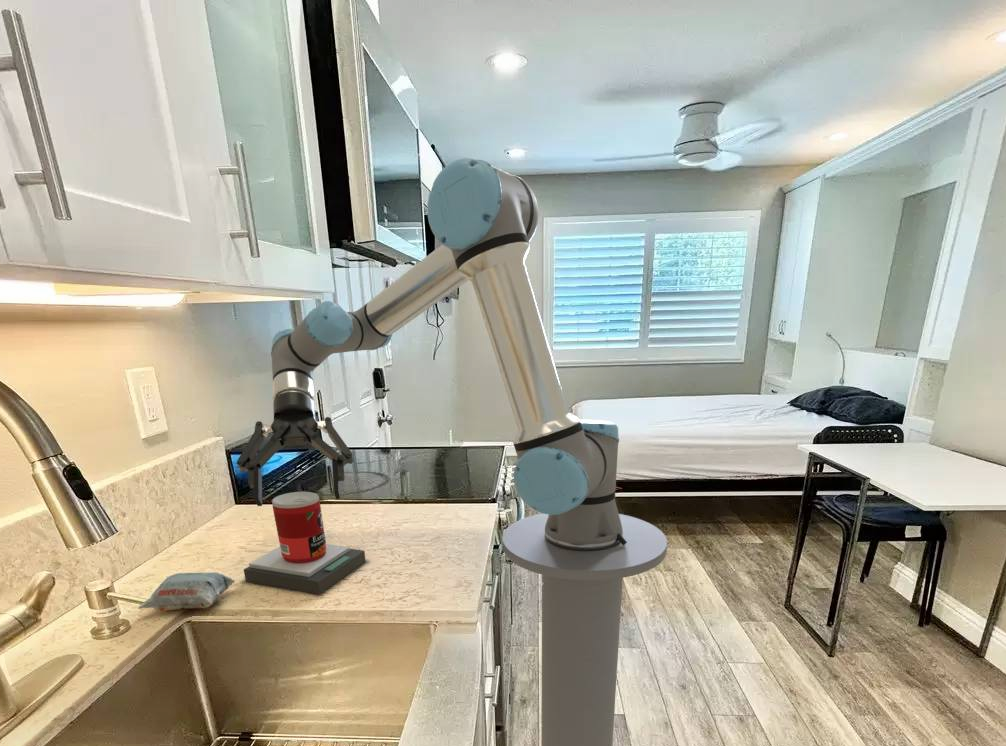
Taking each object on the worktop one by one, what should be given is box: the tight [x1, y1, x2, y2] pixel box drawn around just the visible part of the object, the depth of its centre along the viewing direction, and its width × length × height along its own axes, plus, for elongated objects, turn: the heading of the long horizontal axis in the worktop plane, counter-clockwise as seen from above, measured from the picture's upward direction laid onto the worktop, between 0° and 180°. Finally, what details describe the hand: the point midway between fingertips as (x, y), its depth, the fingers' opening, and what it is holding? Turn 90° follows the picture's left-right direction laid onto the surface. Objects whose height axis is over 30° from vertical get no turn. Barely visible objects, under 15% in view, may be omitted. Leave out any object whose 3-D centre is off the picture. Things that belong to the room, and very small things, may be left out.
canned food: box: [271, 491, 327, 563], centre depth 102 cm, size 8×8×11 cm
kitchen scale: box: [243, 543, 367, 595], centre depth 104 cm, size 16×14×3 cm
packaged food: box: [137, 571, 235, 611], centre depth 93 cm, size 9×12×5 cm
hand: (298, 499), depth 102 cm, fingers open, 13 cm apart
